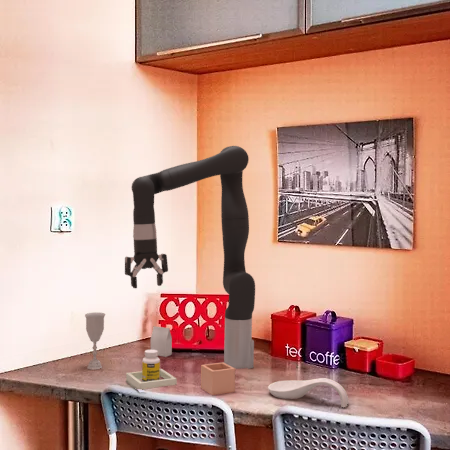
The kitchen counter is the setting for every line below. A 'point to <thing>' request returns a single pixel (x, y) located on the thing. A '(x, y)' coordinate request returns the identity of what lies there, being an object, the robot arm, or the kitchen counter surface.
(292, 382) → the spoon rest
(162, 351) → the tea bag
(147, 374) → the supplement bottle
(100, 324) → the chalice
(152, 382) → the tray
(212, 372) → the tan open box
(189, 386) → the kitchen counter surface
